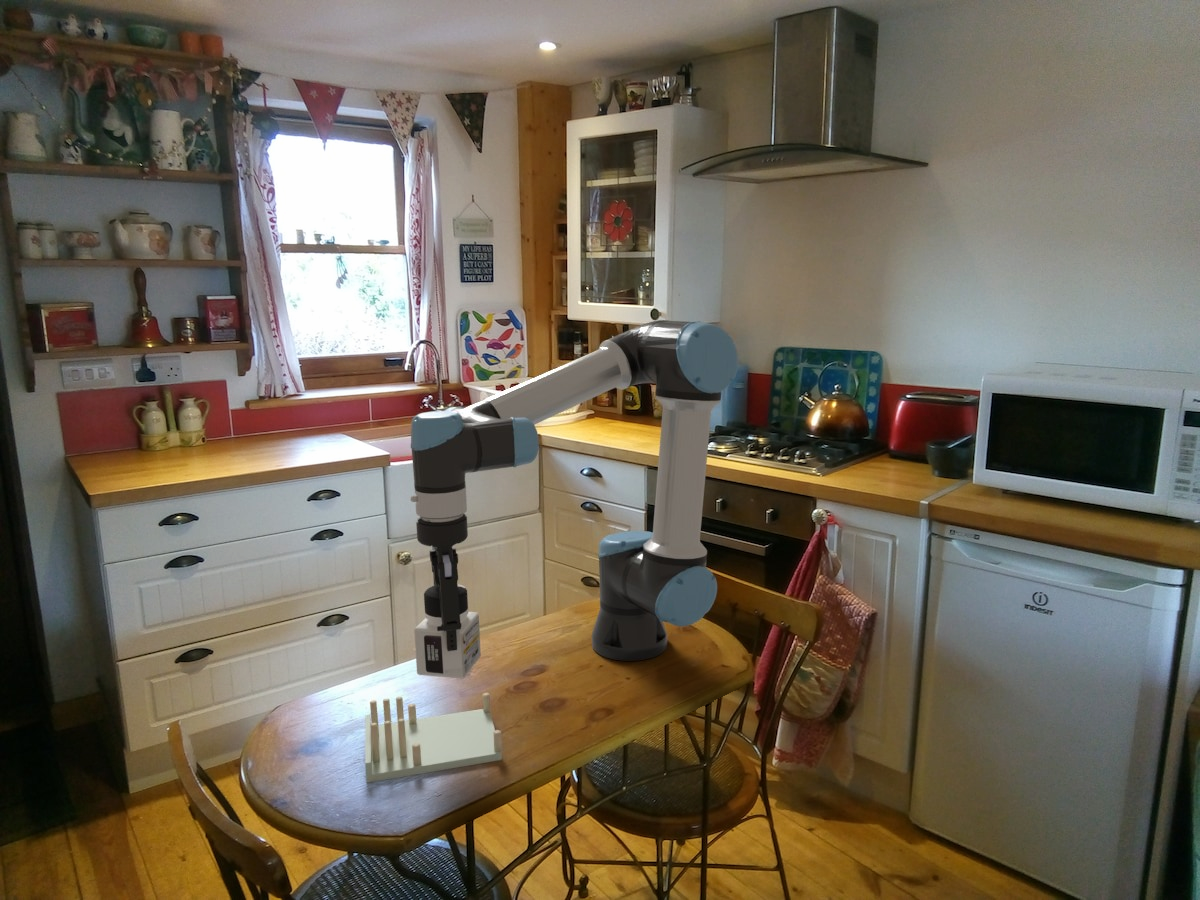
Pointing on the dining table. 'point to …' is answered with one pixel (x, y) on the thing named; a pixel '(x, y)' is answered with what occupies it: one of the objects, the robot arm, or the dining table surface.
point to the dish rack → (428, 741)
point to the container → (430, 638)
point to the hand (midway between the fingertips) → (448, 652)
